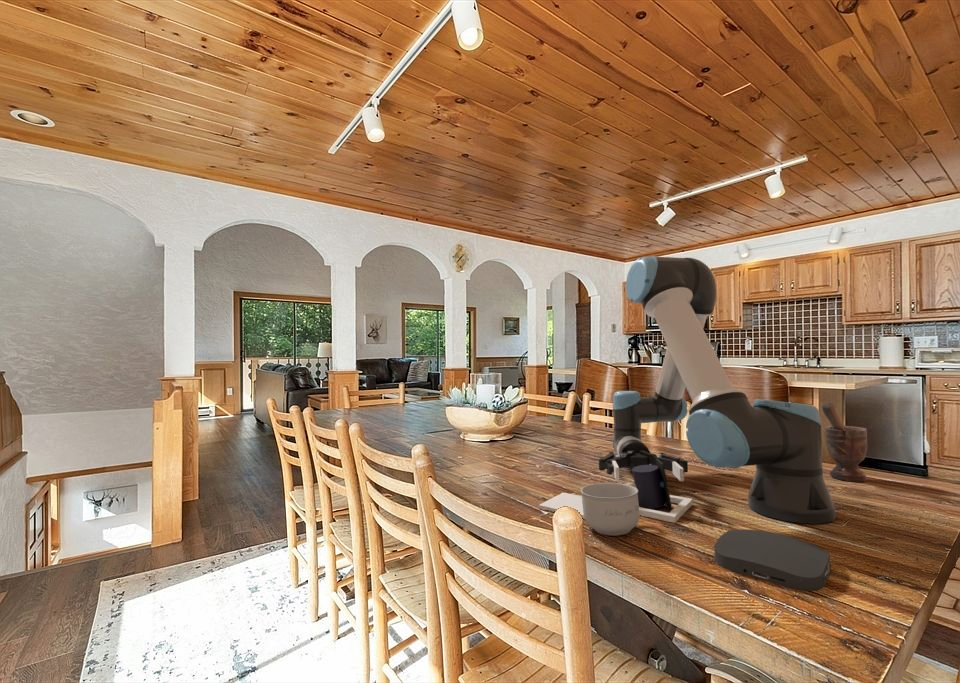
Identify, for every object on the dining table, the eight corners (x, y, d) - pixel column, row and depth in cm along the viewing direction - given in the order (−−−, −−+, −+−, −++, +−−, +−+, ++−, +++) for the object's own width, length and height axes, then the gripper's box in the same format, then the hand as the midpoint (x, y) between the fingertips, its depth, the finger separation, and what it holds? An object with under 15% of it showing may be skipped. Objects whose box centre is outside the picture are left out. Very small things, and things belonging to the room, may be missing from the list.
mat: (606, 504, 101) (606, 501, 101) (584, 519, 93) (584, 515, 93) (563, 495, 108) (563, 492, 108) (538, 508, 100) (538, 505, 100)
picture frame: (692, 504, 100) (692, 498, 100) (674, 522, 90) (674, 516, 90) (633, 493, 109) (632, 488, 109) (610, 509, 98) (609, 503, 98)
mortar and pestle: (864, 487, 109) (860, 405, 109) (820, 480, 115) (816, 402, 116) (871, 478, 117) (868, 401, 117) (830, 472, 123) (827, 399, 124)
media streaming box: (733, 538, 83) (733, 521, 83) (834, 562, 73) (833, 543, 73) (707, 566, 72) (707, 547, 72) (821, 599, 62) (820, 577, 62)
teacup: (609, 546, 80) (607, 500, 80) (570, 526, 89) (569, 485, 90) (664, 530, 86) (662, 488, 86) (622, 513, 96) (620, 475, 96)
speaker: (675, 503, 100) (668, 457, 101) (672, 513, 95) (665, 464, 96) (640, 502, 104) (633, 457, 104) (635, 511, 99) (628, 464, 99)
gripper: (683, 468, 118) (710, 493, 97) (586, 466, 122) (591, 489, 102) (682, 439, 118) (708, 458, 98) (585, 438, 123) (590, 456, 102)
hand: (649, 474), depth 100 cm, fingers open, 13 cm apart
